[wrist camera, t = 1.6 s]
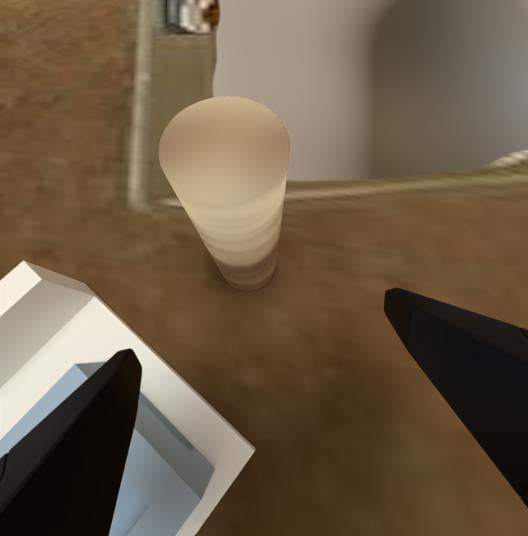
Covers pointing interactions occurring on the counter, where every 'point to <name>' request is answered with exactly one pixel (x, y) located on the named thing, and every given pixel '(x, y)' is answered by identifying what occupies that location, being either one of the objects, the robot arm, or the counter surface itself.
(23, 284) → the white base plate
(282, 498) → the counter surface
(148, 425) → the socket block
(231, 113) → the dowel
